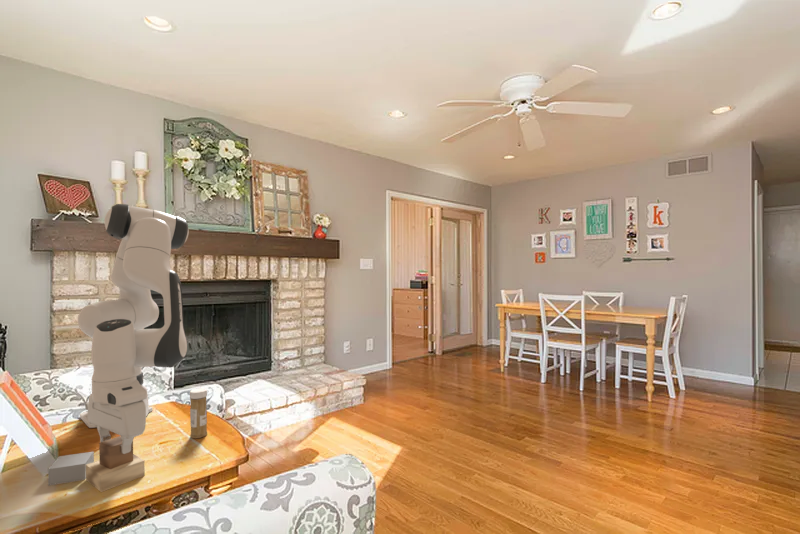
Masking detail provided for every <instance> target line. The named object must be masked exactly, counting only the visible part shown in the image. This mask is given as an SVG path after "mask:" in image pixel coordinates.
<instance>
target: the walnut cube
mask: <svg viewBox="0 0 800 534" xmlns="http://www.w3.org/2000/svg"><path fill="white" fill-rule="evenodd" d="M122 441H123V440H122V439H121V436H120V435H118V436H116V437H114V438H111V439H110V440H107V441H103V442H100V441H99V443H98V444H99V445H98V446H99V447H98V448H99V453H98V454H99V456H98V457H99V460H100V464H101V465H103V466H105V467H107V468H109V469H112V468H115V467H118V466H120V465H123V464H126V463H128V462H131V461H133V454H134V440H133V441H132V444H131V451H130V452H129V453H126V454H123V453H121V452H120V445H122Z"/></svg>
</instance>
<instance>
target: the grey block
mask: <svg viewBox="0 0 800 534" xmlns="http://www.w3.org/2000/svg"><path fill="white" fill-rule="evenodd" d="M94 459H95V451H88V452H80V453H74V454H65V455H59V456H58V457H57V459H56V460H55V461H54V462H53V463H52V464H51V465H50V467H49V468H48V469H47V472H48V473H47V474H48V475H47V477H48V481H47V482H48V484H47V485H48V486H55V485H61V484H67V483H73V482H79V481H85V480H86V464H89V463H92V462H95V460H94Z"/></svg>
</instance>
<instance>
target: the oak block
mask: <svg viewBox="0 0 800 534" xmlns="http://www.w3.org/2000/svg"><path fill="white" fill-rule="evenodd" d="M145 471H146V469H145V460H144V459H142V458H141V457H139V456H137V455H136V454H134V453H133V461H131V462H128V463H126V464H123V465H120V466H118V467H115V468H112V469H109V468H107V467H105V466H103V465H101V464H100V459H99V460H96V461H94V462H92V463H89V464H86V479H85V480H86V481H87V482H88V483H89V484H90V485H92V486H93V487H94V488H95V489H97V490H98V491H100V492H101V493H103V492H105V491H108V490H110V489H113V488H116V487H119V486H121V485H123V484H126V483H129V482H131V481H134V480H137V479H140V478H142V477H145V475H146V474H145Z"/></svg>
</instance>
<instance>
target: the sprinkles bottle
mask: <svg viewBox="0 0 800 534" xmlns="http://www.w3.org/2000/svg"><path fill="white" fill-rule="evenodd" d="M207 396H208V390H207V389H206V388H195V389H191V390H190V391H189V401H190V411H189V414H190V415H189V416H190V419H189V421H190V438H192V439H200V438H204V437H206V436H207V435H208V431H207V430H208V429H207V427H208V426H207V424H208V418H207V417H208V416H207V415H208V414H207V413H208V411H207Z"/></svg>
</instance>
